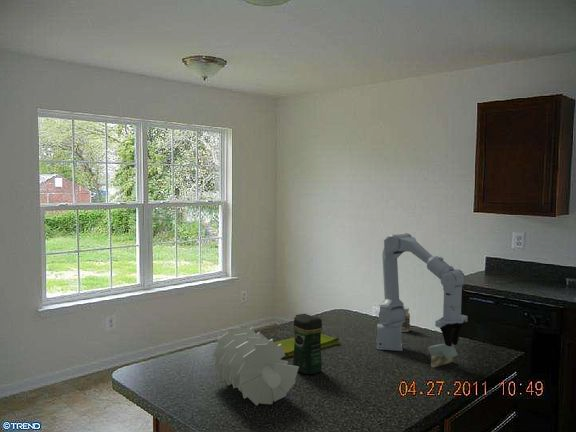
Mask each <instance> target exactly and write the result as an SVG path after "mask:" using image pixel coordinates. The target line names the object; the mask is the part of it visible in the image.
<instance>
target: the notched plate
mask: <svg viewBox="0 0 576 432" xmlns="http://www.w3.org/2000/svg"><path fill="white" fill-rule="evenodd" d="M427 349H428V352H429V354H430V357H431V356H435V355H440V358H443V357H444V356H445V358H450V357H453V358H454V357H456V356H458V352H457V351H456V347H455V345H454V344H453V343H452V346H447V345H445V342H444V343H439V344H434V345H430V346H428V347H427Z"/></svg>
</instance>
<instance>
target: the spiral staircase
mask: <svg viewBox="0 0 576 432" xmlns="http://www.w3.org/2000/svg"><path fill="white" fill-rule="evenodd" d="M217 342H218V344H217V345H216V347H215V348H214V350H213V352H212V356H214V357H215V358H214V366H213V369H214V370H216V371H217V375H218V377H221V376H222V377H221V378H222V379H225V381H226V384H227V386H230V385H232V388H233V389H236V388H237V389H238V391H239V392H241V393H242V398H243V399H244V400H245V399H246V398H248V399H249V400H250V401H251V402H252V403H253V404H254V405H255V406H256V407H257V406H258V405H259V404H262V405H273V403H274V402H277V401H279V400H281V399H283V398H285V397H287V394H288V393H289V391H290V390H291V389H292V387H293V386H294V385H295V384H296V382H297V381H296V379H297V378H296V377H297V375H298V372H299V371H298V368H299V366H293V364H292V365H291V364H289V361H288V360H284V359H281V358H282V357H284V356H285V353H284V350H283V348H282V345H281V344H279V345H278V346H277V345H276V344H274V342H275V341H274V339H273V338H271V339H268V338H267V337H265V335H263V334H262V333H261V331H258V332H257V333H256V332H255V329H254V327H250V328H248V327H247V326H245V325H244V324H240V325H239V327H228V328H227V332H226V333H224V334H223V335H221V336H220V337H218V338H217Z"/></svg>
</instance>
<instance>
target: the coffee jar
mask: <svg viewBox="0 0 576 432" xmlns="http://www.w3.org/2000/svg"><path fill="white" fill-rule="evenodd" d="M322 322H323V321H322V318H320V317H317V316H316V317H315V316H313V315H312V314H311V315H310V314H307V313H299V314H296V315H295V317H294V319H293V331H294V332H293V333H294V337H295V341H294V356H292V357H293V358H292V360H293V361H292V365H293V366H299V368H298V372H300V373H301V374H304V375H316V374H317V373H319V372H321V371H322V366H323V365H322V364H323V363H322V349H321V334H322V331H323V323H322Z"/></svg>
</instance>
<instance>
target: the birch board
mask: <svg viewBox="0 0 576 432" xmlns="http://www.w3.org/2000/svg"><path fill="white" fill-rule="evenodd" d="M453 358H454V357H450V358H445V356H444V357H443V358H440V355H435V356H431V355H430V367H431V368H438V367H440V366H444V365H447V364H451V363H453Z"/></svg>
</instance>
